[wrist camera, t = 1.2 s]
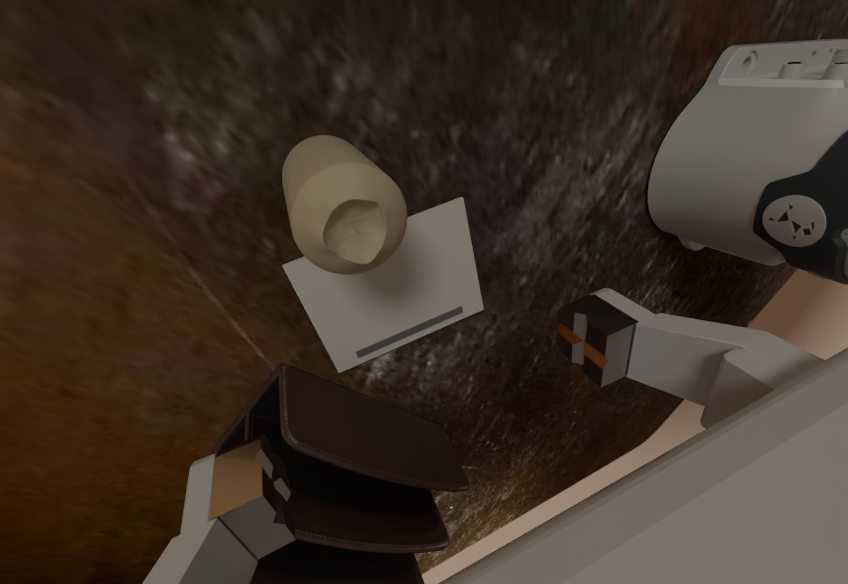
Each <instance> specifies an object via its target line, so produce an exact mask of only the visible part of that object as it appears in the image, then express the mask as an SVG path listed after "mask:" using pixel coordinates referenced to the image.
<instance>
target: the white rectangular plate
mask: <svg viewBox="0 0 848 584" xmlns="http://www.w3.org/2000/svg"><path fill="white" fill-rule="evenodd" d="M283 268H284V270H285V272H286V274H287V276H288V278H289V280H290V282H291V283H292V285H293V287H294V289H295V291H296V293H297V295H298V297H299V299H300V300H301V302H302V304H303V306H304V308H305V310H306V312H307V314H308V316H309V318H310V319H311V321H312V323H313V325H314V327H315V329H316V331H317V333H318V335H319V336H320V338H321V340H322V342H323V344H324V346H325V348H326V350H327V352H328V353H329V355H330V357H331V359H332V361H333V363H334V365H335V367H336V369H337V370H338V372H339V373H341V372H343V371H345V370H348V369H350V368H352V367H354V366H357V365H359V364H361V363H363V362H366V361H368V360H370V359H373V358H375V357H377V356H379V355H382V354H384V353H386V352H388V351H391V350H393V349H395V348H398V347H400V346H402V345H404V344H407V343H409V342H411V341H413V340H416V339H418V338H420V337H423V336H425V335H427V334H429V333H432V332H434V331H436V330H438V329H441V328H443V327H445V326H447V325H450V324H452V323H454V322H457V321H459V320H461V319H463V318H466V317H468V316H470V315H472V314H475V313H477V312H479V311H482V310H484V309H483V303H482V298H481V292H480V287H479V281H478V276H477V270H476V265H475V260H474V254H473V249H472V243H471V238H470V232H469V227H468V221H467V216H466V210H465V205H464V199H463V197H460V198H457V199H454V200H452V201H449V202H446V203H444V204H441V205H439V206H436V207H433V208H431V209H428V210H425V211H423V212H420V213H418V214H415V215H412V216H410V217H407V226H406V231H405V234H404V237H403V239H402V241H401V243H400V245H399V247H398V248H397V250H396V251H395V252H394V253H393V255H392V256H391V257H390V258H389V259H388V260H386V261H385V262H384V263H382V264H381V265H379V266H378V267H376V268H374V269H372V270H369V271H366V272H363V273H359V274H350V275H345V274H336V273H332V272H328V271H326V270H323V269H321V268H319V267H318V266H316V265H314V264H313V263H312V262H310V261H309V260H308V259H307V258H306V257H302V258H299V259H297V260H294V261H291V262H289V263H286V264H284V265H283Z"/></svg>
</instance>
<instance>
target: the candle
mask: <svg viewBox="0 0 848 584" xmlns="http://www.w3.org/2000/svg"><path fill="white" fill-rule="evenodd" d="M282 181H283V189H284V194H285V199H286V204H287V209H288V214H289V219H290V224H291V229H292V233H293V237H294V240H295V242H296V244H297V246H298V248H299V249H300V251H301V252H302V253H303V255H304V256H305V257H306V258H307V259H308V260H309V261H310V262H312V263H313V264H314V265H316V266H318V267H319V268H321V269H323V270H326V271H328V272H332V273H336V274H345V275H350V274H359V273H363V272H366V271H369V270H372V269H374V268H376V267H378V266H379V265H381V264H382V263H384V262H385V261H386V260H388V259H389V258H390V257H391V256H392V255H393V253H394V252H395V251H396V250H397V248H398V247H399V245H400V243H401V241H402V239H403V237H404V234H405V231H406V226H407V208H406V203H405V200H404V197H403V195H402V193H401V191H400V189H399V188H398V186H397V185H396V183H395V182H394V181H393V180H392V179H391V178H390V177H389V176H388V175H386V174H385V173H384V172H383V171H382V170H381V169H380V168H378V167H377V166H376V165H375V164H374V163H373V162H371V161H370V160H369V159H368V158H367V157H366V156H364V155H363V154H362V153H361V152H360V151H359V150H357V149H356V148H355V147H354V146H353V145H351V144H350V143H348V142H347V141H345V140H343V139H341V138H338V137H334V136H328V135H320V136H314V137H310V138H308V139H305V140H303V141H302V142H300V143H299V144H298V145H296V146H295V147H294V148H293V149H292V150H291V152H290V153H289V155H288V156H287V158H286V160H285V163H284V166H283V171H282Z"/></svg>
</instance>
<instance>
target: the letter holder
mask: <svg viewBox="0 0 848 584" xmlns="http://www.w3.org/2000/svg"><path fill="white" fill-rule="evenodd" d="M261 434H265V435H266V436H267V438H268V439H269V441H270V442H271V447H272V453H275V454H278V455H279V456H280V458H281V459H282V461H283V463H284V466H285V468H286V471H287V474H288V478H289V482H290V490H291V494H290V496H289V498H288V500H287V503H288V504H289V506H290V507H291V509H292V510H293V516H294V526H295V535H296V540H294V541H292V542H290V543H288V544H286V545H284V546H283V547H281V548H279V549H277V550H275V551H273V552H271V553H269V554H267V555H266V556H264V557H262V558H260V559H258V560H256V561H257V562H258V563H257V566H256V569H255V571H254V574H253V576H252V579H251V581H250V584H424V581H423V578H422V575H421V573H420V569H419V567H418V564H417V561H416V558H415V555H414V553H424V552H431V551H440V550H443V549H445V548H446V547H447V546H448V544H449V535H448V533H447V530H446V527H445V525H444V523H443V520H442V517H441V515H440V513H439V511H438V508H437V506H436V504H435V502H434V499H433V497H432V494H431V491H430V489H432V490H441V491H450V492H459V491H466V490H467V489H469V482H468V479H467V476H466V474H465V472H464V470H463V468H462V466H461V464H460V461H459V459H458V457H457V455H456V453H455V451H454V449H453V446H452V444H451V442H450V440H449V438H448V436H447V434H446V432H445V430H444V428H443V426H441V425H438V424H436V423H434V422H430V421H428V420H425V419H424V418H421V417H418V416H415V415H413V414H410V413H408V412H405V411H403V410H400V409H398V408H395V407H392V406H390V405H388V404H385V403H383V402H380V401H378V400H375V399H372V398H370V397H367V396H365V395H363V394H360V393H357V392H354V391H353V390H349V389H347V388H344V387H343V386H340V385H336V384H334V383H332V382H329V381H326V380H324V379H321V378H318V377H316V376H313V375H310V374H308V373H305V372H303V371H300V370H298V369H295V368H293V367H290V366H287V365H284V364H279V365H278V367H277V368H276V369H275V371H274V372H273V373H272V374H271V376H270V377H269V378H268V379H267V381H266V382H265V383H264V384H263V385H262V387H261V388H260V389H259V390H258V392H257V393H256V394H255V395H254V397H253V398H252V399H251V400H250V402H249V403H248V404H247V405H246V407H245V408H244V409H243V410H242V412H241V413H240V414H239V415H238V417H237V418H236V419H235V420H234V421H233V423H232V424H231V425H230V426H229V428H228V429H227V430H226V431H225V433H224V434H223V435H222V437H221V438H220V439H219V441H218V442H217V443H216V445H215V449H214V452H213V453H214V454H215V453H217V452H219V451H221V450H224V449H226V448H229V447H231V446H234V445H236V444H239V443H241V442H244V441H246V440H249V439H251V438H254V437H256V436H259V435H261Z"/></svg>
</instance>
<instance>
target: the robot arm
mask: <svg viewBox="0 0 848 584" xmlns="http://www.w3.org/2000/svg"><path fill="white" fill-rule="evenodd" d="M648 207H649V212H650V215H651V217H652V219H653V221H654V223H655V224H656V225H657V226H658V227H659V228H660V229H661V230H663V231H665V232H667V233H670V234H674V235H676V236H677V237H678V238H679V240H680V241H681V243H682V245H683V246H684V247H685V248H688V249H691V250H695V251H697V250H700V249H702V248H703V247H705V246H706V247H710V248H713V249H716V250H719V251H722V252H726V253H729V254H732V255H735V256H739V257H742V258H745V259H749V260H752V261H755V262H759V263H762V264H766V265H777V264H780V263H784V262H786V261H787V263H788V264H790V265H791V266H794V267H797V268H799V269H802V270H805V271H807V272H809V274H812V275H814V276H817V277H820V278H823V279H830V280H833V281H836V282H839V283H842V284H848V40H847V39H822V40H807V41H791V42H776V43H760V44H745V45H733V46H730V47H729V48H727V49H726V50H725V51H724V52H723V54H722V55H721V56H720V58H719V59H718V61H717V63H716V64H715V66H714V68H713V70H712V71H711V73H710V75H709V77H708V79H707V81H706V83H705V85H704V86H703V87H702V89H701V90H700V91H699V93H698V94H697V95H696V96H695V97H694V99H693V100H692V101H691V102H690V103H689V104H688V105H687V106H686V108H685V109H684V110H683V111H682V113H681V114H680V115H679V116H678V118H677V119H676V121H675V122H674V124H673V125H672V127H671V128H670V130H669V131H668V133H667V135H666V137H665V139H664V140H663V142H662V144H661V147H660V149H659V151H658V153H657V156H656V158H655V161H654V164H653V167H652V171H651V175H650V180H649V186H648ZM557 320H559V321H560V322H561V323H562V324H561V326H560V328H559V329H558V331H557V342H558V344H559V347H560V349H561V351H562V352H563V354H564V355H565V356H566V357H567V358H568V359H569V360H570V361H571V362H574V363H578V364H581V365H582V368H583V372H584V373H585V374H586V375H587V376H588V377H590V378H591V379H592V380H593V381H594V382H595V383H597V384H598V385H599V386H600V387H603V386H605V385H607V384H610V383H612V382H614V381H616V380H618V379H620V378H623V377H625V376H627V377H628V378H630V379H633V380H636V381H638V382H641V383H644V384H646V385H649V386H652V387H654V388H657V389H660V390H662V391H665V392H668V393H671V394H673V395H676V396H679V397H681V398H684V399H687V400H689V401H692V402H695V403H698V404H700V405H703V406H705V409H704V411H703V414H702V417H701V425H702V426H703V427H704V428H706V430H704V431H703V432H701V433H699V434H697V435H696V436H694V437H692V438H690V439H688V440H687V441H685V442H683V443H682V444H680V445H678V446H676V447H675V448H673V449H671V450H669V451H668V452H666V453H664V454H662V455H661V456H659V457H657V458H656V459H654V460H652V461H651V462H649V463H647V464H645V465H643V466H642V467H640V468H638V469H637V470H635V471H633V472H631V473H629V474H628V475H626V476H624V477H623V478H621V479H619V480H617V481H616V482H614V483H612V484H610V485H609V486H607V487H605V488H603V489H602V490H600V491H598V492H597V493H595V494H593V495H591V496H590V497H588V498H586V499H584V500H583V501H581V502H579V503H578V504H576V505H574V506H572V507H570V508H569V509H567V510H565V511H564V512H562V513H560V514H558V515H557V516H555V517H553V518H551V519H550V520H548V521H546V522H545V523H543V524H541V525H539V526H537V527H536V528H534V529H532V530H531V531H529V532H527V533H525V534H524V535H522V536H520V537H519V538H517V539H515V540H513V541H512V542H510V543H508V544H506V545H505V546H503V547H501V548H499V549H498V550H496V551H494V552H492V553H491V554H489V555H487V556H486V557H484V558H482V559H480V560H478V561H477V562H475V563H473V564H472V565H470V566H468V567H466V568H465V569H463V570H461V571H460V572H458V573H456V574H454V575H453V576H451V577H449V578H447V579H446V580H444V581H442V582H440V583H439V584H848V348H846V349H844V350H843V351H841V352H839V353H838V354H836V355H834V356H832V357H831V358H829V359H827V360H823V359H821V358H819V357H817V356H815V355H813V354H811V353H809V352H807V351H805V350H803V349H801V348H799V347H797V346H795V345H793V344H791V343H788V342H787V341H785V340H783V339H780V338H779V337H776V336H774V335H772V334H770V333H768V332H766V331H761V330H756V329H749V328H744V327H738V326H732V325H727V324H721V323H715V322H709V321H703V320H698V319H692V318H686V317H680V316H674V315H669V314H663V313H659V314H657V315H655V314H653V313H651V312H650V311H648V310H646V309H645V308H643V307H641V306H639V305H638V304H636V303H634V302H632V301H631V300H629V299H627V298H626V297H624V296H622V295H620V294H619V293H617V292H615V291H613V290H612V289H608V288H604V289H601V290H599V291H597V292H594V293H592V294H590V295H588V296H585V297H583V298H581V299H579V300H576V301H574V302H572V303H569V304H567V305H565V306H562V307H560V309H559V311H558V318H557ZM290 494H291V490H290V482H289V478H288V474H287V471H286V468H285V466H284V463H283V461H282V459H281V458H280V456H279V455H278V454H275V453H272V447H271V442H270V441H269V439H268V438H267V436H266V435H265V434H261V435H259V436H256V437H254V438H251V439H249V440H246V441H244V442H241V443H239V444H236V445H234V446H231V447H229V448H226V449H224V450H221V451H219V452H217V453H215V454H212V455H210V456H207V457H205V458H202V459H200V460H197V461H195V462H193V464H192V466H191V468H190V470H189V477H188V484H187V491H186V498H185V505H184V512H183V519H182V526H181V533H180V535H179V536H177V537H174V538H172V540H171V541H170V543H169V544H168V546H167V547H166V549H165V550H164V552H163V553H162V555H161V556H160V558H159V559H158V561H157V562H156V564H155V565H154V567H153V568H152V570H151V571H150V573H149V574H148V576H147V577H146V579H145V580H144V582H143V583H142V584H250V581H251V579H252V576H253V574H254V571H255V569H256V566H257V563H258V562H257V561H256V560H258V559H260V558H262V557H264V556H266V555H267V554H269V553H271V552H273V551H275V550H277V549H279V548H281V547H283V546H284V545H286V544H288V543H290V542H292V541H294V540H296V535H295V526H294V516H293V510H292V509H291V507H290V506H289V504H288V503H287V500H288V498H289V496H290Z"/></svg>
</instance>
